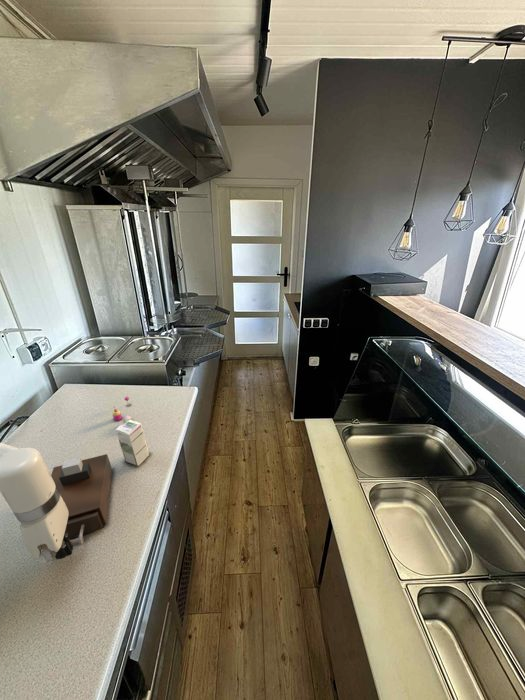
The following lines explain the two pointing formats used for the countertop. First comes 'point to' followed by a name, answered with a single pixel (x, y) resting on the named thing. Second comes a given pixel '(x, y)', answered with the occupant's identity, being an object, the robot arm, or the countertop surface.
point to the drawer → (82, 526)
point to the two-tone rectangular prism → (74, 471)
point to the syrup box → (132, 442)
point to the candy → (118, 415)
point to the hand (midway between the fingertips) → (65, 553)
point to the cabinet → (87, 489)
